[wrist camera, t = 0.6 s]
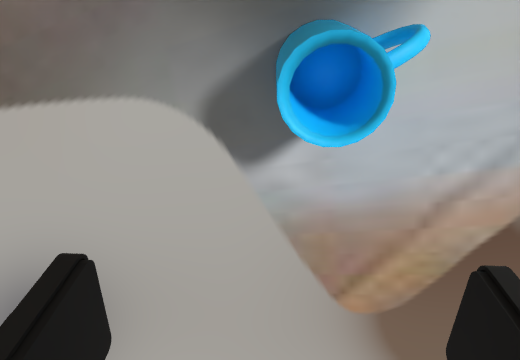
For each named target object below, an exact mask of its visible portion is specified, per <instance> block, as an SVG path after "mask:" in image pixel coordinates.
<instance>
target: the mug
mask: <svg viewBox="0 0 520 360" xmlns="http://www.w3.org/2000/svg"><path fill="white" fill-rule="evenodd" d="M430 36H431V35H430V32H429V30H428V29H427V27H426V26H425V25H422V24H413V25H409V26H405V27H401V28H398V29H395V30H393V31H390V32H387V33H384V34H382V35H380V36H377V37H375V38H371V37H370V36H368V35H366V34H364V33H362V32H360V31H358V30H357V29H355V28H353V27H351V26H349V25H347V24H344V23H341V22H338V21H335V20H316V21H313V22H310V23H307V24H304V25H302V26H301V27H299V28H298V29H297V30H296V31H294V32H293V33H292V34H290V35H289V37H288V38H287V40H286V41H285V43H284V44H283V45H282V47H281V49H280V52H279V55H278V58H277V61H276V88H277V103H278V106H279V109H280V112H281V116H282V118H283V120H284V121H285V123H286V124H287V125H288V127H289V128H290V129H291V131H292V132H293V133H294V134H296V135H297V136H299V137H300V138H302V139H303V140H304V141H306V142H308V143H312V144H315V145H318V146H321V147H342V146H345V145H349V144H352V143H356V142H358V141H360V140H361V139H363V138H365V137H366V136H368V135H369V134H371V133H373V132H374V131H375V129H376V128H377V127H378V126H379V125H380V124H381V123H382V122H383V121H384V119H385V118H386V116H387V114H388V112H389V110H390V108H391V106H392V104H393V102H394V96H395V89H396V78H395V72H394V69H395V68H397V67H398V66H400V65H402V64H403V63H405V62H407V61H408V60H410V59H411V58H413V57H414V56H416V55H417V54H418V53H419V52H420V51H422V50H423V49H424V48H425V47H426V45H427V44H428V42H429V40H430ZM402 43H403V44H402ZM399 44H401V45H400V46H398V47H396V48H395V49H393V50H392V51H390V52H388V53H386V51H385V49H387V48H390V47H393V46H396V45H399Z"/></svg>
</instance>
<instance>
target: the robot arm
mask: <svg viewBox="0 0 520 360" xmlns="http://www.w3.org/2000/svg"><path fill="white" fill-rule="evenodd" d="M110 345H111V332H110V328H109V324H108V319H107V315H106V311H105V306H104V302H103V298H102V293H101V290H100V285H99V280H98V276H97V272H96V268H95V264H94V262H93V261H92V260H88V258H87V256H86V255H84V254H68V253H62V254H59V255H58V256H57V257H56V258H55V259H54V261H53V262H52V263H51V264H50V266H49V267H48V268H47V269H46V271H45V272H44V273H43V274H42V276H41V277H40V279H39V280H38V281H37V282H36V283H35V285H34V286H33V287H32V288H31V290H30V291H29V292H28V293H27V295H26V296H25V297H24V298H23V300H22V301H21V302H20V303H19V305H18V306H17V307H16V308H15V310H14V311H13V312H12V313H11V314H10V315H9V316H8V318H7V319H6V320H5V321H4V323H3V324H2V325H1V326H0V360H105V358H106V356H107V354H108V351H109V349H110ZM446 356H447V360H520V279H519V278H518V277H517V276H516V275H515V273H514V272H513V271H512V270H511V269H510V268H509V267H506V266H480V267H479V268H478V269H477V271H475V272H472V273H471V275H470V277H469V280H468V283H467V286H466V289H465V292H464V295H463V298H462V301H461V304H460V307H459V310H458V313H457V316H456V319H455V322H454V325H453V328H452V331H451V334H450V337H449V341H448V343H447V347H446Z"/></svg>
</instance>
